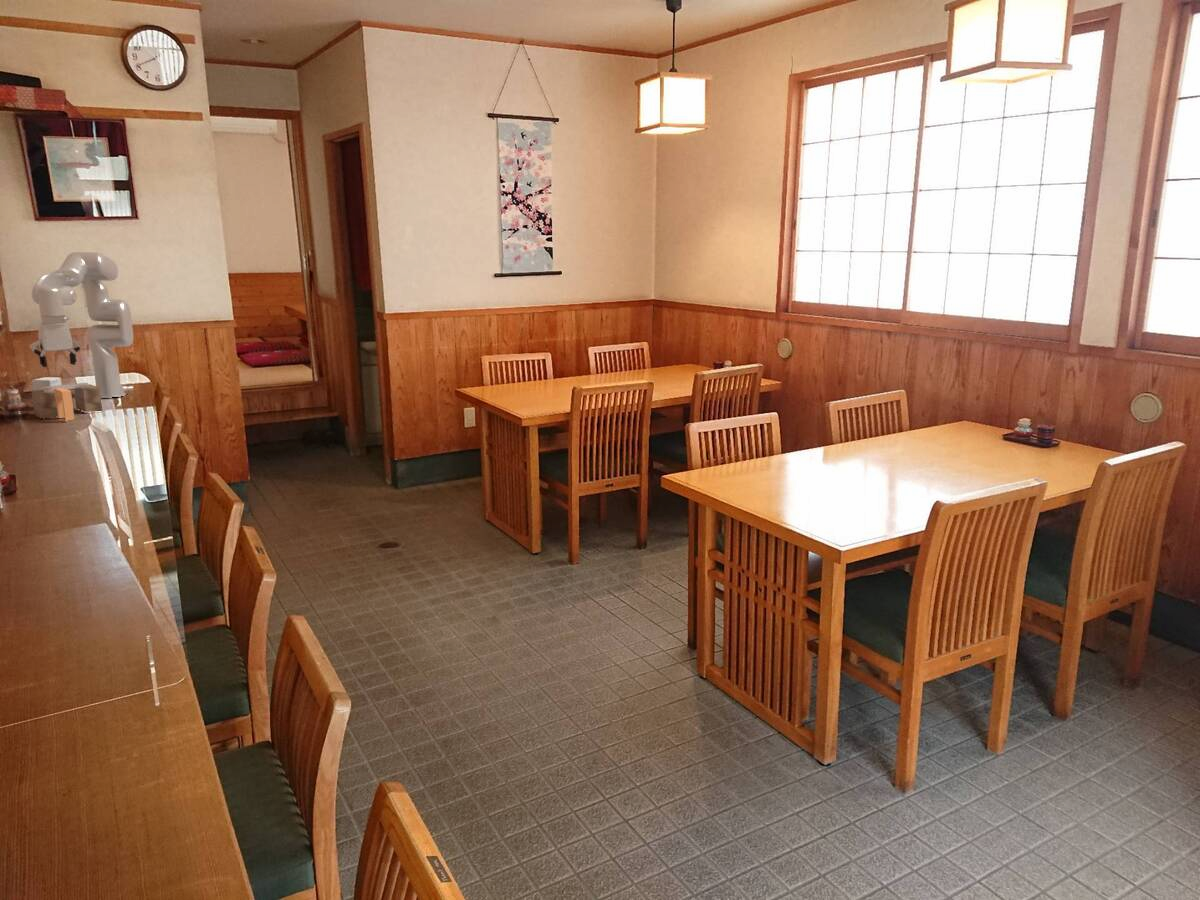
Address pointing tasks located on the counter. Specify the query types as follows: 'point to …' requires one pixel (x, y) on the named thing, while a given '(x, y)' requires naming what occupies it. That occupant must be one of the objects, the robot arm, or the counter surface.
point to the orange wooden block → (64, 403)
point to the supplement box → (46, 382)
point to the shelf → (83, 396)
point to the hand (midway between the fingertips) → (58, 365)
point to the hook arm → (65, 386)
